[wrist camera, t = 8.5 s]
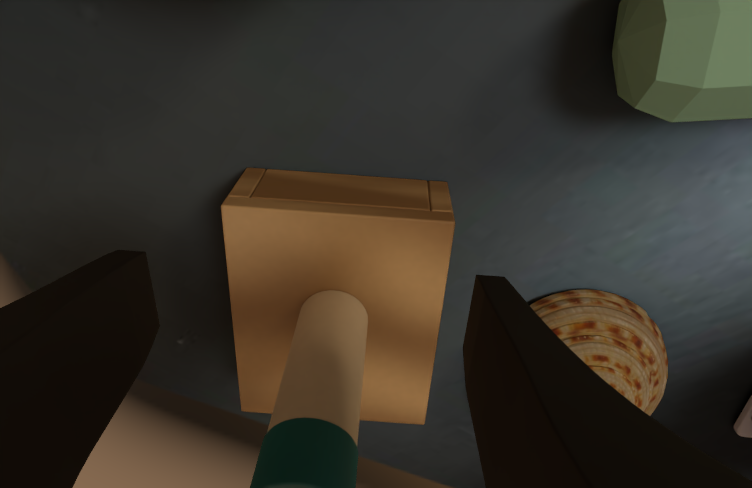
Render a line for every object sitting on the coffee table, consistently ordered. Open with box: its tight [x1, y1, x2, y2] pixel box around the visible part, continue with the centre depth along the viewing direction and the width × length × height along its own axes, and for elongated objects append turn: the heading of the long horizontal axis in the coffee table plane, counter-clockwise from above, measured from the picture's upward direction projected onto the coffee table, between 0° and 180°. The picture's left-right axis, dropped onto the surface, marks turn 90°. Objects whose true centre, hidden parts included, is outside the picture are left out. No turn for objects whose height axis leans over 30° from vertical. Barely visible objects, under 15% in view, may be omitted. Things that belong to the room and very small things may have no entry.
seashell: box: [530, 289, 668, 416], centre depth 24 cm, size 8×6×8 cm
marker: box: [250, 290, 368, 488], centre depth 16 cm, size 3×3×8 cm
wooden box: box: [221, 168, 455, 425], centre depth 22 cm, size 10×8×4 cm
